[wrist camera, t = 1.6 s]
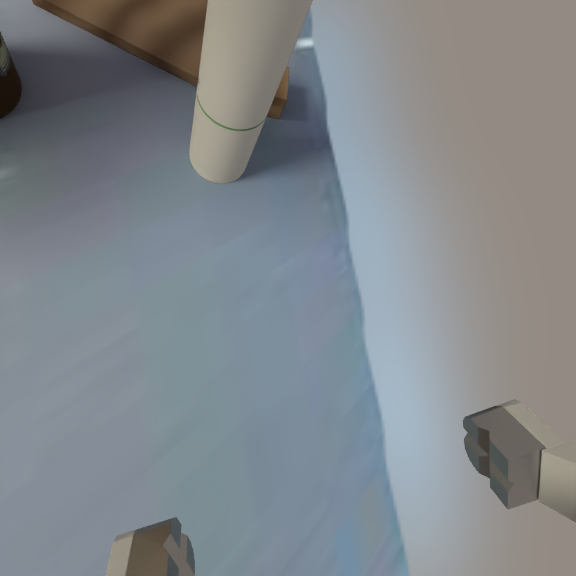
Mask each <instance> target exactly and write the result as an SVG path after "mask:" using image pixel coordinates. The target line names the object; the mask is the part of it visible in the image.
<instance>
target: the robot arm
mask: <svg viewBox="0 0 576 576" xmlns="http://www.w3.org/2000/svg"><path fill="white" fill-rule="evenodd" d="M463 427H464V429H465V430H466V431H467V432H468V433H467V435H466V437H465V438H464V444H465V450H466V452H467V455H468V457H469V459H470V461H471V462H472V464H473V466H474V467H475V468H476V470H477V471H478V472H479V473H480V474H482V475H484V476H486V477H488V478H490V488H491V489H492V490H493V491H494V493H495V494H496V495H497V496H498V498H499V499H500V500H501V501H502V503H503V504H504V505H505V507H506V508H507V509H511V508H514V507H517V506H520V505H523V504H526V503H528V502H532V501H535V500H537V499H539V502H541V503H543V504H544V505H546V506H548V507H550V508H551V509H553V510H555V511H557V512H558V513H560V514H562V515H564V516H566V517H567V518H569V519H571V520H572V521H574V522H576V441H573V440H569V441H565V440H564V439H563V438H561V437H560V436H559V435H558V434H557V433H556V432H554V431H553V430H552V429H551V428H550V427H548V426H547V425H546V424H545V423H544V422H543V421H542V420H540V419H539V418H538V417H537V416H536V415H534V414H533V413H532V412H531V411H530V410H529V409H528V408H526V407H525V406H524V405H523V404H522V403H521V402H520V401H517V400H512V401H509V402H506V403H503V404H500V405H498V406H494V407H491V408H488V409H485V410H483V411H480V412H477V413H474V414H471V415H469V416H466V417H465V418H464V420H463ZM106 576H195V560H194V553H193V548H192V545H191V542H190V540H189V538H188V536H187V535H184V534H182V533H181V524H180V522H179V520H178V519H177V517H175V518H172V519H168V520H165V521H162V522H159V523H156V524H153V525H149V526H146V527H143V528H140V529H137V530H134V531H131V532H128V533H125V534H122V535H119V536H117V537H116V539H115V541H114V542H113V545H112V549H111V554H110V558H109V562H108V567H107V571H106Z"/></svg>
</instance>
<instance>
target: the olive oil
mask: <svg viewBox="0 0 576 576" xmlns="http://www.w3.org/2000/svg"><path fill="white" fill-rule="evenodd" d="M20 95H21V82H20V79H19V76H18V73H17V71H16V68H15V66H14V64H13V61H12V59H11V57H10V54H9V51H8V49H7V47H6V44H5V42H4V39H3V37H2V35H1V32H0V118H1V117H3V116H5V115H7V114H8V113H9V112H10V111H11V110H13V108H14V107H15V106H16V105H17V103H18V101H19V99H20Z"/></svg>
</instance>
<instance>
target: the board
mask: <svg viewBox="0 0 576 576" xmlns="http://www.w3.org/2000/svg"><path fill="white" fill-rule="evenodd" d="M32 1H33V4H34V5H36V6H38V7H40V8H42V9H44V10H46V11H48V12H50V13H52V14H54V15H56V16H58V17H60V18H62V19H64V20H66V21H68V22H70V23H72V24H74V25H76V26H78V27H80V28H82V29H84V30H86V31H88V32H90V33H92V34H94V35H96V36H98V37H100V38H102V39H104V40H106V41H108V42H110V43H112V44H114V45H116V46H118V47H120V48H122V49H124V50H126V51H128V52H130V53H132V54H134V55H136V56H138V57H140V58H142V59H143V60H145V61H147V62H149V63H151V64H153V65H155V66H157V67H159V68H161V69H163V70H165V71H167V72H169V73H171V74H173V75H175V76H177V77H179V78H181V79H183V80H185V81H187V82H189V83H191V84H193V85H195V86H197V85H198V77H199V68H200V60H201V52H202V44H203V36H204V28H205V19H206V11H207V3H208V0H32Z"/></svg>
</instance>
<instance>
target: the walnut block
mask: <svg viewBox="0 0 576 576" xmlns="http://www.w3.org/2000/svg"><path fill="white" fill-rule="evenodd" d="M288 79H289V67H287V66H286V69H285V71H284V74H283V76H282V79H281V82H280V84H279V87H278V89H277V92H276V94H275V97H274V99H273V102H272V104H271V107H270V109H269V112H268V114H267V117H271V118H275V119H279V117H280V115H281V113H282V110H283V108H284V106H285V104H286V102H287V95H288Z"/></svg>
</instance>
